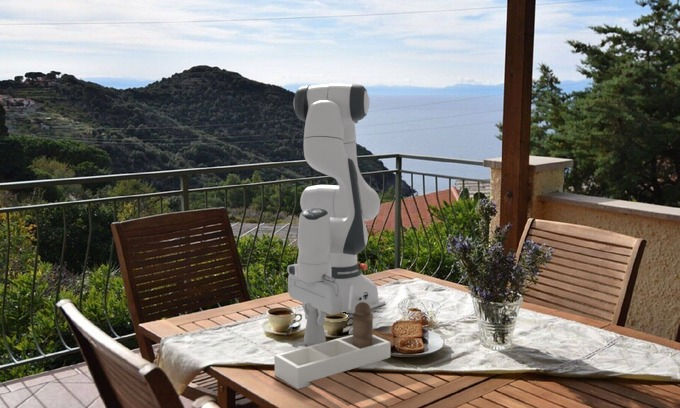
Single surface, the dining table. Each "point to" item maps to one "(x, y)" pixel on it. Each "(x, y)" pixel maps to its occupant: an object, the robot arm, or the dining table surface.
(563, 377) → the dining table surface
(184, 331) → the dining table surface
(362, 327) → the pepper mill
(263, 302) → the dining table surface
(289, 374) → the caddy
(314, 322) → the salt shaker
